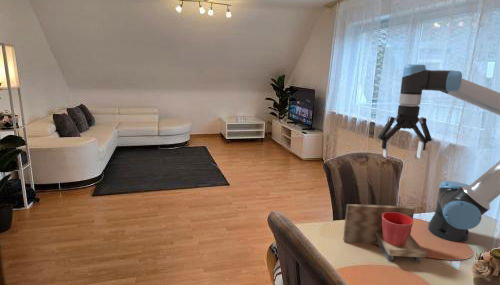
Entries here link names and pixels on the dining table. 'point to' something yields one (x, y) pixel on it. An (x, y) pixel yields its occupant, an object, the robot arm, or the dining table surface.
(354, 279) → the dining table surface
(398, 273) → the dining table surface
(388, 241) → the flower pot
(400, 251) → the small wooden stand
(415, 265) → the dining table surface
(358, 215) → the wooden board
